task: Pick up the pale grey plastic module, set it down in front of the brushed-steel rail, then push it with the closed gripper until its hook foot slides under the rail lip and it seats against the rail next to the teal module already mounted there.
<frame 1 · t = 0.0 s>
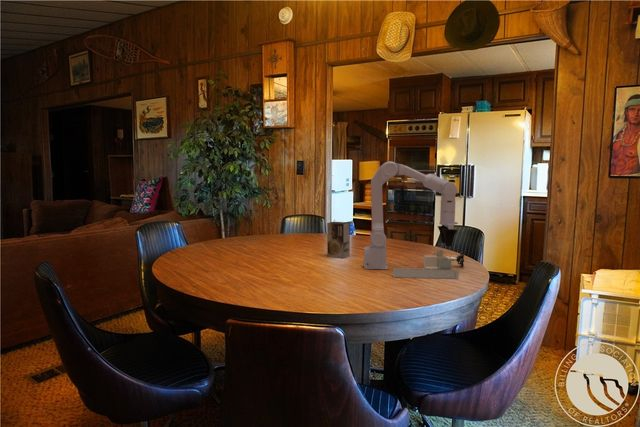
hand: (446, 244, 174), 10 cm above the table, tool pointing down, fingers open, 7 cm apart
rail: (424, 277, 161), on the table
coffee box: (338, 256, 200), on the table
valve: (447, 267, 180), on the table
module: (429, 270, 173), on the table
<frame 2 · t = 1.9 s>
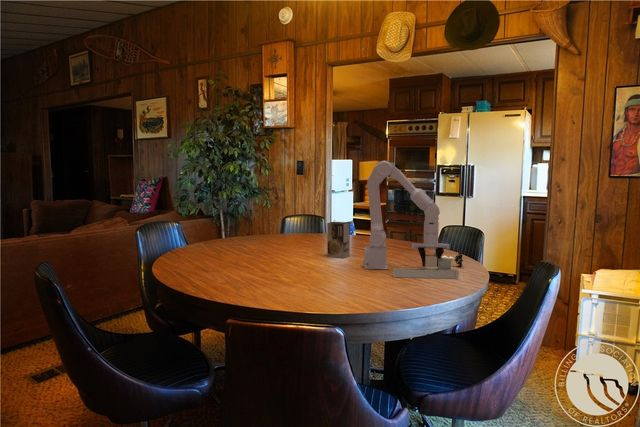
hand: (430, 266, 173), 2 cm above the table, tool pointing down, fingers closed on module, 4 cm apart
module: (429, 270, 173), on the table, touching gripper
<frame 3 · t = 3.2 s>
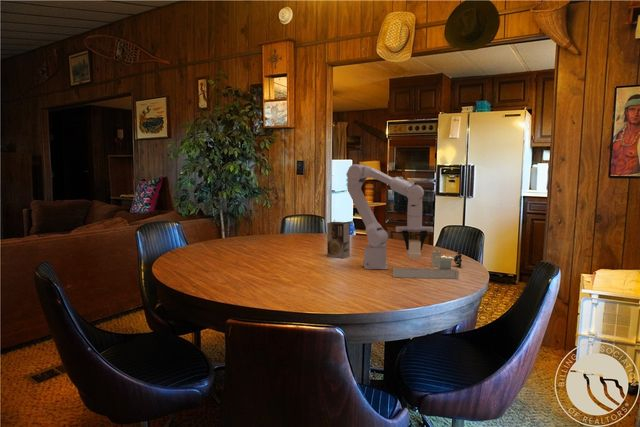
hand: (413, 249, 170), 9 cm above the table, tool pointing down, fingers closed on module, 4 cm apart
module: (413, 255, 170), point 6 cm above the table, touching gripper
when the fingers open (3 cm above the table, at t = 4.7 s): module stays where it is, on the table.
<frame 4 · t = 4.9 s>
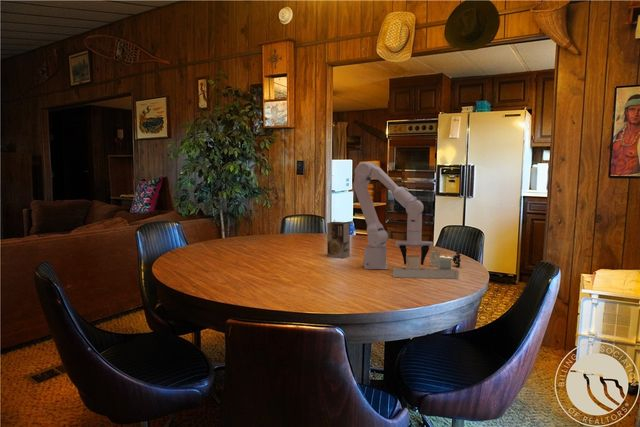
hand: (413, 264, 170), 3 cm above the table, tool pointing down, fingers open, 6 cm apart
module: (413, 271, 171), on the table
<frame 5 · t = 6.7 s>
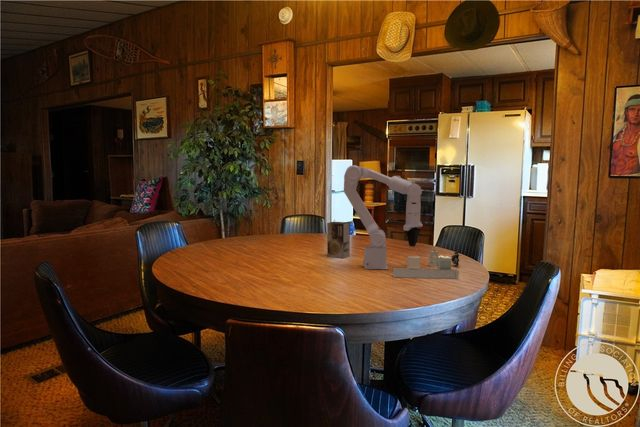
hand: (412, 246, 174), 9 cm above the table, tool pointing down, fingers closed
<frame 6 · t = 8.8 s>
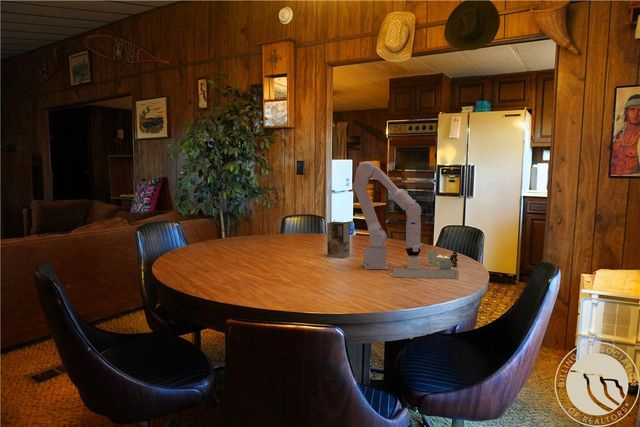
hand: (412, 266, 174), 1 cm above the table, tool pointing down, fingers closed
module: (413, 271, 170), on the table, touching gripper
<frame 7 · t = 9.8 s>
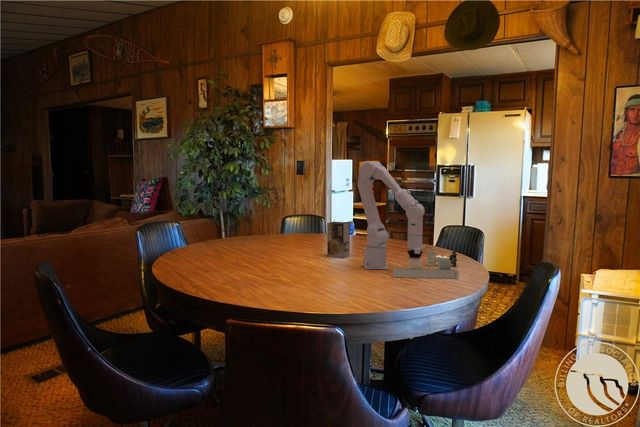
hand: (414, 268, 169), 1 cm above the table, tool pointing down, fingers closed
module: (415, 274, 166), on the table, touching gripper, rail
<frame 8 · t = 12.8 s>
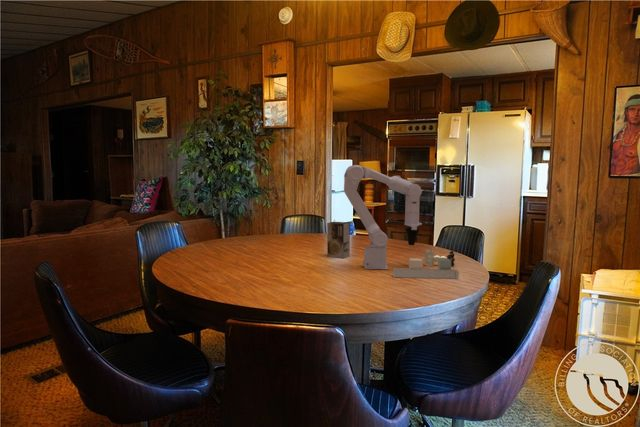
hand: (411, 244, 177), 9 cm above the table, tool pointing down, fingers closed
module: (415, 274, 166), on the table
at the end: module 0.2 cm from the target spot, on the table; module tilted 0°; the gripper is holding nothing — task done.
